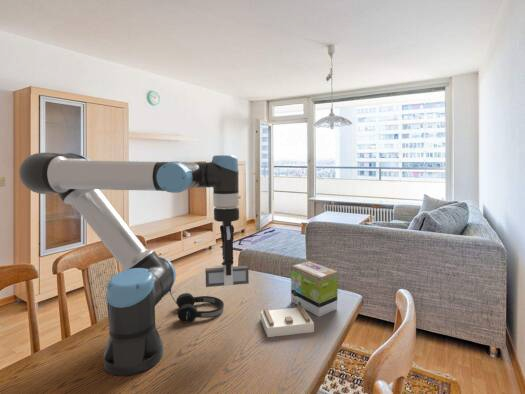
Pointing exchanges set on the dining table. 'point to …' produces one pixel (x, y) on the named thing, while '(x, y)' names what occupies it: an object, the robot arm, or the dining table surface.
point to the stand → (286, 321)
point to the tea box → (314, 287)
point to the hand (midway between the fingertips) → (228, 282)
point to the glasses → (217, 276)
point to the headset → (190, 312)
